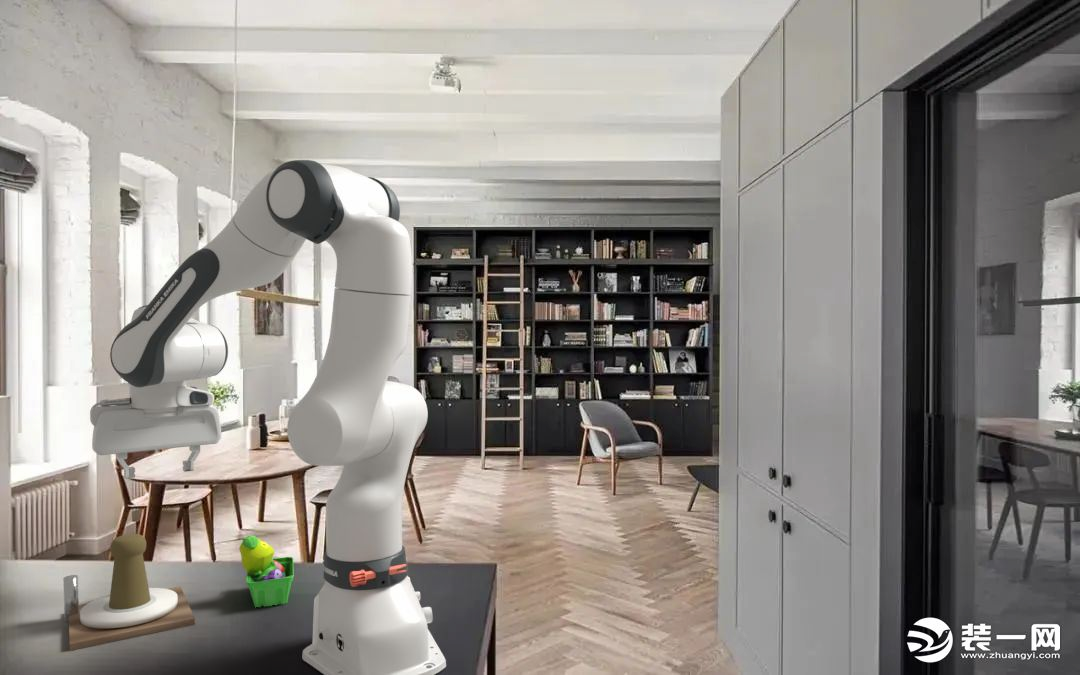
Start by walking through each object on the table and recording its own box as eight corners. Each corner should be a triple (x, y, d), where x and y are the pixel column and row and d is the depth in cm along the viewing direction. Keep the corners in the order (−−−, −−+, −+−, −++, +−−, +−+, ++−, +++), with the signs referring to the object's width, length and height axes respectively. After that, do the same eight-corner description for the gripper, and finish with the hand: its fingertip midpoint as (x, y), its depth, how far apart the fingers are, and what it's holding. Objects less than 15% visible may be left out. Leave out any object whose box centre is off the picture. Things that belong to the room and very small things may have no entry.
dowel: (79, 620, 122) (77, 577, 122) (64, 622, 121) (63, 580, 121) (78, 616, 124) (77, 574, 124) (64, 618, 123) (63, 576, 123)
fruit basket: (294, 606, 127) (293, 540, 127) (238, 613, 125) (237, 546, 124) (293, 583, 138) (292, 522, 138) (242, 589, 135) (240, 527, 135)
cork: (131, 610, 119) (129, 542, 119) (99, 607, 120) (97, 540, 120) (159, 596, 125) (157, 531, 125) (128, 594, 126) (126, 529, 126)
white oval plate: (183, 615, 120) (182, 592, 120) (81, 636, 113) (80, 611, 113) (169, 582, 136) (169, 562, 135) (78, 598, 128) (78, 577, 128)
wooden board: (194, 624, 120) (194, 616, 120) (69, 650, 111) (69, 642, 111) (180, 591, 134) (180, 585, 134) (68, 612, 125) (68, 605, 125)
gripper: (92, 402, 123) (94, 485, 123) (223, 394, 135) (224, 470, 136) (87, 398, 128) (88, 479, 128) (213, 391, 140) (214, 464, 141)
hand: (159, 474), depth 132 cm, fingers open, 8 cm apart
